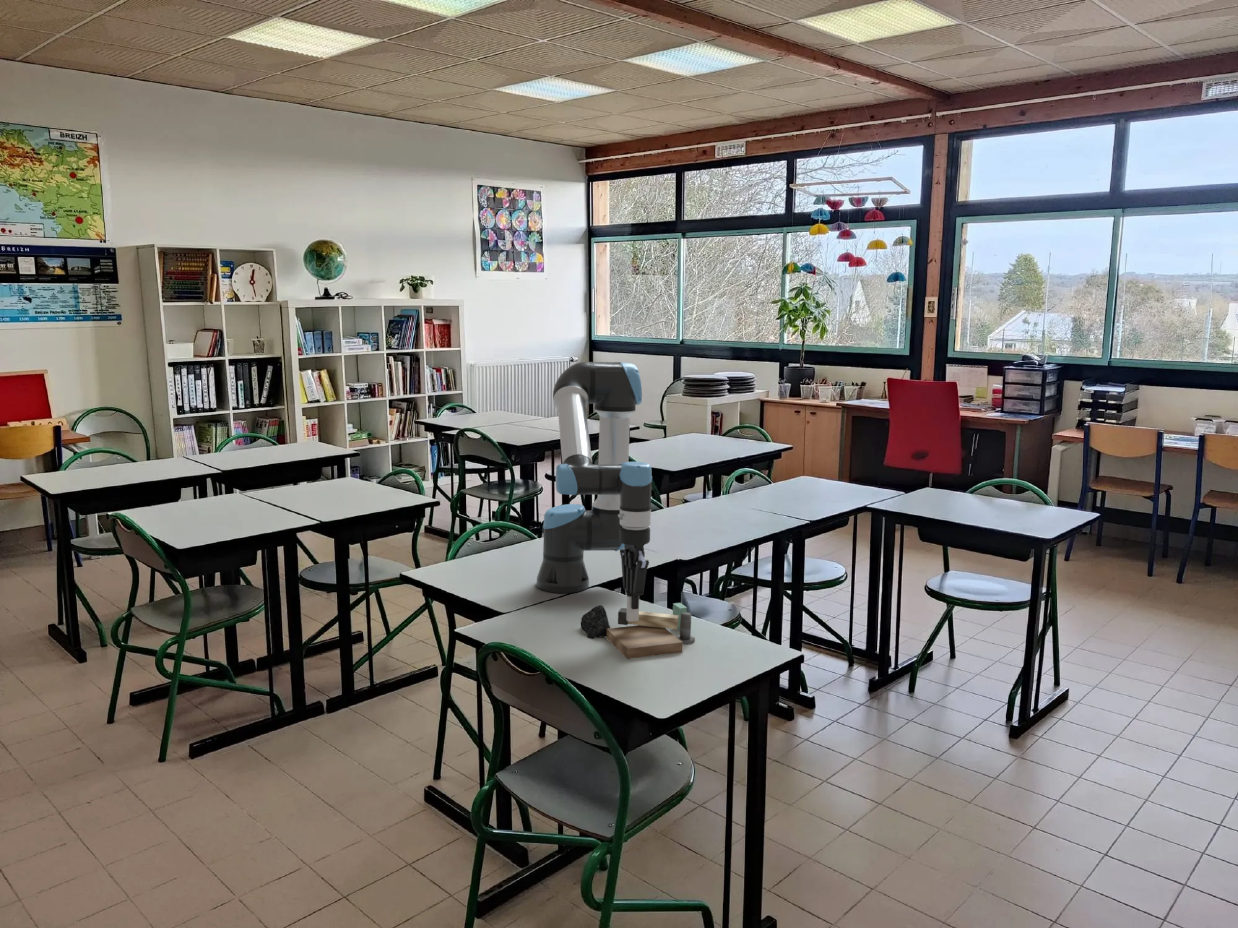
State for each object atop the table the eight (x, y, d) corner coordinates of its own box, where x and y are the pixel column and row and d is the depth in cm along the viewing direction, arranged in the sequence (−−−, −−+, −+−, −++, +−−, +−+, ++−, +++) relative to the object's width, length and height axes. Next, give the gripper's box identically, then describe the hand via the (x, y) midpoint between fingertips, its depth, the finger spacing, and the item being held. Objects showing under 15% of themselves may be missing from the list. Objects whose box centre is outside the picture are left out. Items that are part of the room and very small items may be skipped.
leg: (678, 626, 231) (679, 614, 230) (676, 630, 228) (676, 618, 227) (621, 619, 235) (621, 607, 234) (617, 624, 231) (618, 611, 231)
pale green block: (672, 625, 240) (673, 603, 239) (679, 624, 241) (680, 602, 240) (678, 630, 236) (679, 608, 235) (686, 629, 237) (686, 607, 236)
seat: (606, 638, 229) (607, 611, 228) (681, 629, 237) (682, 604, 236) (627, 658, 217) (628, 630, 215) (706, 649, 224) (707, 622, 223)
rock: (587, 640, 228) (588, 617, 227) (576, 626, 238) (577, 604, 237) (615, 638, 230) (615, 615, 229) (603, 624, 240) (603, 602, 239)
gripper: (610, 521, 230) (608, 613, 234) (630, 533, 218) (628, 630, 222) (638, 519, 233) (636, 611, 237) (659, 531, 221) (657, 627, 225)
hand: (632, 620), depth 229 cm, fingers closed
